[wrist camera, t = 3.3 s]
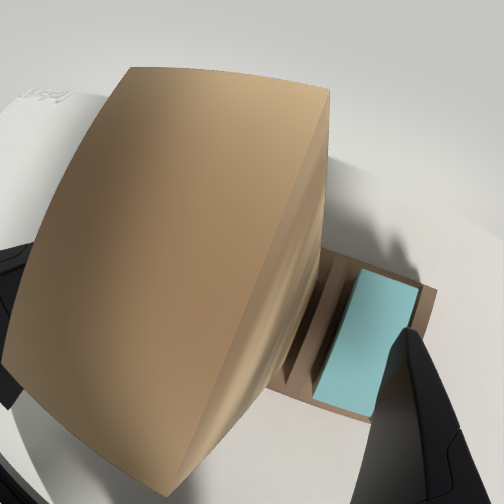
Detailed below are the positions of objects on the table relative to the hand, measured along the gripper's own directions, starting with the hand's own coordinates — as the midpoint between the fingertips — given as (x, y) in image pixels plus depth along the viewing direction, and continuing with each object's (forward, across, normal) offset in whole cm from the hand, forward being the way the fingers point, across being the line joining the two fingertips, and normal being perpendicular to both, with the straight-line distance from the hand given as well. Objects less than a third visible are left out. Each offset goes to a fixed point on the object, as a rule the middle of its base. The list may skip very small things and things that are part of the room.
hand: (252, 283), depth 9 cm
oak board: (+5, 0, +6) cm, 8 cm away
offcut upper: (+4, -5, +5) cm, 8 cm away
